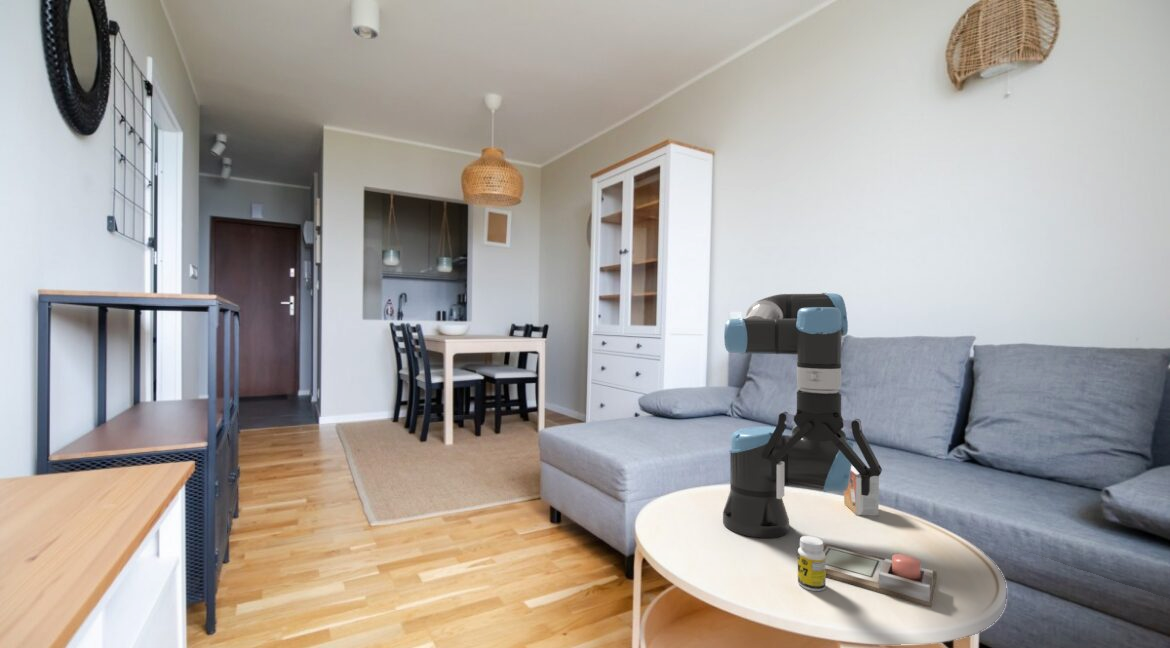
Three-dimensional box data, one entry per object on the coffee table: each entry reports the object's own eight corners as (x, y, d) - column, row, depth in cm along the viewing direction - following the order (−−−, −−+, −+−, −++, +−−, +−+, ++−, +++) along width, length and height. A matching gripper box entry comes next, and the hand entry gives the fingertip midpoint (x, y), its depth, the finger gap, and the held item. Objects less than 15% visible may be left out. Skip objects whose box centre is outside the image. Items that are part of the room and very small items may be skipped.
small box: (843, 504, 136) (843, 465, 136) (866, 505, 135) (866, 465, 135) (855, 515, 128) (855, 473, 128) (879, 516, 127) (879, 474, 127)
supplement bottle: (792, 579, 96) (792, 535, 96) (816, 578, 97) (816, 534, 97) (805, 592, 92) (806, 546, 91) (830, 591, 92) (831, 545, 92)
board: (807, 571, 99) (807, 555, 99) (825, 546, 110) (825, 531, 110) (930, 607, 87) (930, 588, 87) (936, 575, 98) (936, 558, 98)
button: (890, 577, 92) (890, 560, 92) (893, 567, 96) (893, 552, 96) (919, 584, 89) (919, 567, 89) (921, 575, 93) (921, 558, 93)
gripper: (745, 387, 98) (744, 496, 98) (895, 398, 84) (894, 526, 84) (757, 383, 104) (757, 486, 105) (899, 393, 90) (898, 513, 90)
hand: (818, 504), depth 94 cm, fingers open, 13 cm apart
